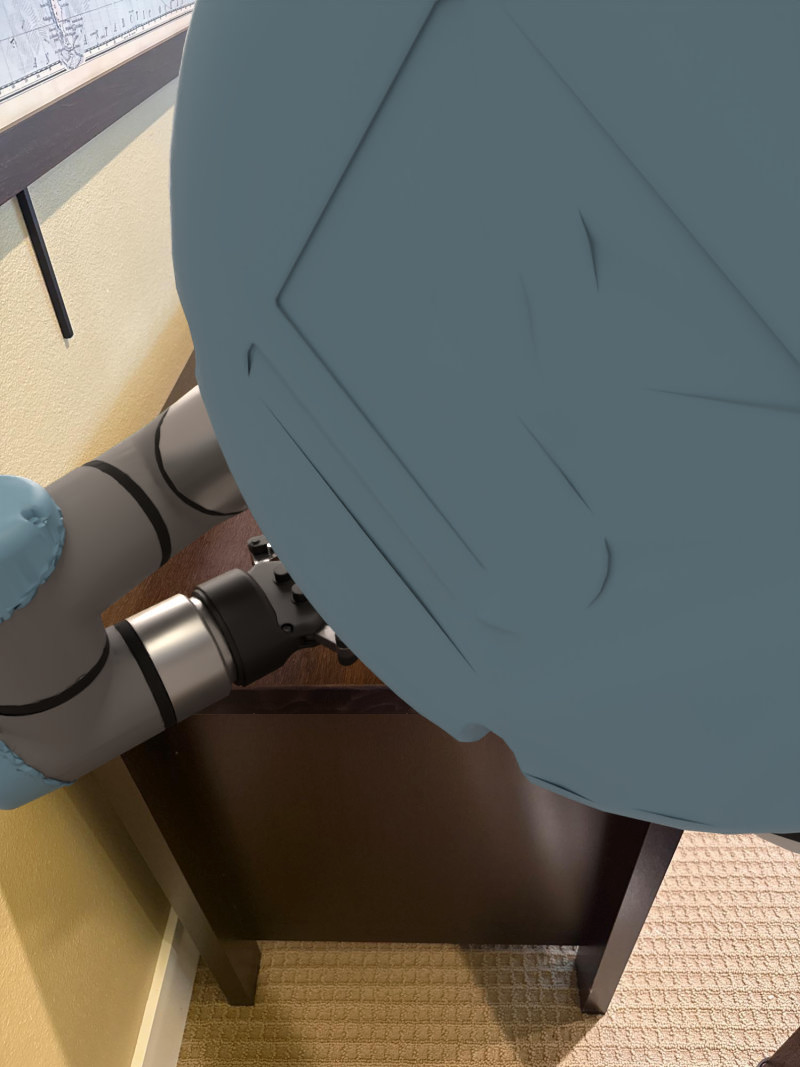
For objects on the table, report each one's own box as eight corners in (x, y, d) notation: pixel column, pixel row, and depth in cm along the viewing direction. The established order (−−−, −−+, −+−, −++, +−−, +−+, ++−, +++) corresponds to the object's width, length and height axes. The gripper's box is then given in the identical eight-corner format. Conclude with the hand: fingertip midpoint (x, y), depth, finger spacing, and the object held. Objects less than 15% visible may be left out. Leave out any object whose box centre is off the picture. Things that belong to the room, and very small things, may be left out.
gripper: (169, 605, 60) (409, 492, 70) (288, 768, 48) (555, 603, 58) (145, 530, 55) (405, 420, 65) (269, 689, 43) (564, 525, 53)
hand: (475, 507), depth 62 cm, fingers closed on vase, 5 cm apart
